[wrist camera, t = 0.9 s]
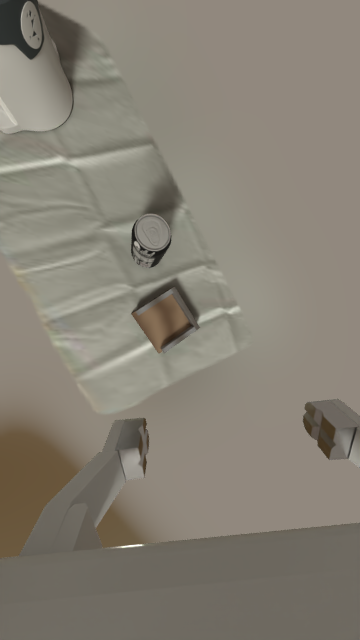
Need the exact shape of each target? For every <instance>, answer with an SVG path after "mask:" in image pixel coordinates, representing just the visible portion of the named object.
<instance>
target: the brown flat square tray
mask: <svg viewBox="0 0 360 640" xmlns="http://www.w3.org/2000/svg"><path fill="white" fill-rule="evenodd" d="M132 315H133V317H134V318H135V320H136V321H137V323H138V324H139V326H140V327H141V328H142V330H143V331H144V333H145V334H146V336H147V337H148V339H149V340H150V341H151V343H152V344H153V346H154V347H155V349H156V350H157V352H158V353H161V352H162V351H163V352H164V353H165V352H167V351H168V350H169V349H171V348H172V347H174V346H175V345H176V344H178V343H179V342H181V341H182V340H183V339H185V338H186V337H188V336H189V335H190V334H192V333H193V332H195V331H196V330H197V329H199V328H200V327H199V325H198V324H197V322H196V321H195V319H194V317H193V316H192V314H191V312H190V311H189V309H188V307H187V306H186V304H185V303H184V301H183V299H182V298H181V296H180V294H179V293H178V291H177V289H176V288H175V287H173V288H171V289H169V290H168V291H166V292H165V293H163V294H161V295H160V296H158V297H157V298H155V299H154V300H152V301H150V302H149V303H147V304H146V305H144V306H143V307H141V308H140V309H138V310H136V311H135V312H133V313H132Z"/></svg>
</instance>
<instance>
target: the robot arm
mask: <svg viewBox="0 0 360 640" xmlns="http://www.w3.org/2000/svg"><path fill="white" fill-rule="evenodd" d="M72 103H73V97H72V91H71V87H70V84H69V82H68V79H67V77H66V75H65V73H64V71H63V69H62V66H61V64H60V58H59V53H58V50H57V47H56V45H55V43H54V41H53V40H52V39H51V38H50V35H49V32H48V30H47V27H46V24H45V21H44V19H43V16H42V13H41V11H40V8H39V5H38V1H37V0H0V130H1V131H2V132H4V133H7V134H11V133H16V132H19V131H22V130H31V131H48V130H52V129H55V128H57V127H59V126H60V125H62V124H63V123H64V122H65V121H66V119H67V118H68V117H69V115H70V112H71V109H72ZM305 410H306V411H307V412H306V413H305V414H304V416H303V423H304V427H305V429H306V431H307V432H308V434H309V435H310V436H311V437H312V438H314V439H315V440H317V442H318V447H319V448H320V449H321V450H322V451H323V453H324V454H325V455H326V457H327V458H328V459H329V460H336V459H348V460H349V461H351V462H352V463H354V464H355V465H356V466H358V467H359V468H360V416H359V415H358V414H357V413H356V412H354V411H353V410H352V409H351V408H350V407H348V406H347V405H346V404H345V403H344V402H342V401H341V400H339V399H333V400H325V401H315V402H307V403H306V404H305ZM146 425H147V423H146V419H145V418H137V419H125V420H115V421H114V423H113V425H112V427H111V430H110V432H109V435H108V438H107V440H106V443H105V446H104V448H103V451H102V452H99V453H98V454H97V455H96V456H95V457H94V458H93V459H92V460H91V461H90V462H89V463H88V464H87V465H86V466H85V467H84V468H83V469H82V470H81V471H80V472H79V473H78V474H77V475H76V476H75V477H74V478H73V479H72V480H71V481H70V482H69V483H68V484H67V485H66V486H65V487H64V488H63V489H62V490H61V491H60V492H59V493H58V494H57V495H56V496H55V497H54V498H53V499H52V500H51V501H50V502H49V503H48V504H47V505H46V506H45V508H44V510H43V511H42V513H41V515H40V517H39V519H38V521H37V523H36V525H35V527H34V529H33V530H32V532H31V534H30V536H29V538H28V540H27V542H26V544H25V545H24V547H23V549H22V551H21V553H20V555H19V556H17V557H7V558H0V640H360V523H352V524H342V525H332V526H322V527H311V528H301V529H291V530H281V531H271V532H262V533H261V532H260V533H251V534H241V535H230V536H220V537H211V538H200V539H190V540H180V541H169V542H160V543H149V544H139V545H129V546H119V547H109V548H102V544H101V541H100V539H99V536H98V533H97V531H96V527H97V525H98V523H99V522H100V521H101V519H102V517H103V516H104V514H105V513H106V511H107V510H108V508H109V507H110V505H111V503H112V502H113V501H114V499H115V497H116V496H117V494H118V493H119V491H120V490H121V488H122V487H123V485H124V483H125V482H126V481H125V480H132V479H138V478H145V470H146V463H147V461H146V454H147V453H148V449H149V434H148V430H147V429H146Z"/></svg>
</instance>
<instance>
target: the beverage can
mask: <svg viewBox="0 0 360 640" xmlns="http://www.w3.org/2000/svg"><path fill="white" fill-rule="evenodd" d="M170 243H171V231H170V228H169V225H168V223H167V222H166V221H165V220H164V219H163V218H162V217H161V216H159V215H156V214H145V215H143V216H142V217H140V218H139V219H138V220H137V221H136V222H135V224H134V226H133V228H132V245H131V253H132V257H133V259H134V260H135V262H136V263H137V264H139V265H140V266H142V267H146V268H150V267H154V266H155V265H157V264H158V263H159V262H160V260H161V259H162V257H163V256H164V254H165V253H166V251H167V249H168V248H169V246H170Z"/></svg>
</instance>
